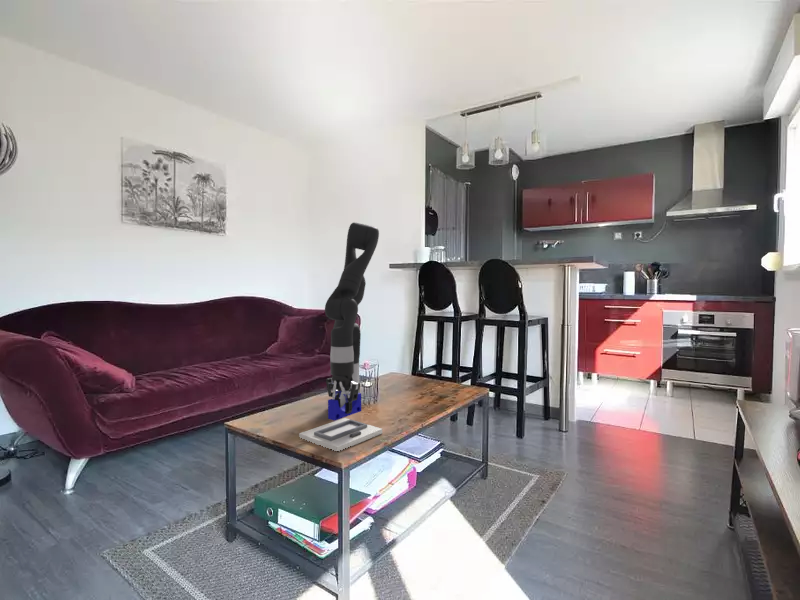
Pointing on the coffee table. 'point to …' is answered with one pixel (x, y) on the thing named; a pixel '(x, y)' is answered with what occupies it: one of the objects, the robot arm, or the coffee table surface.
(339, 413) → the cable clip
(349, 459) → the coffee table surface
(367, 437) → the board
